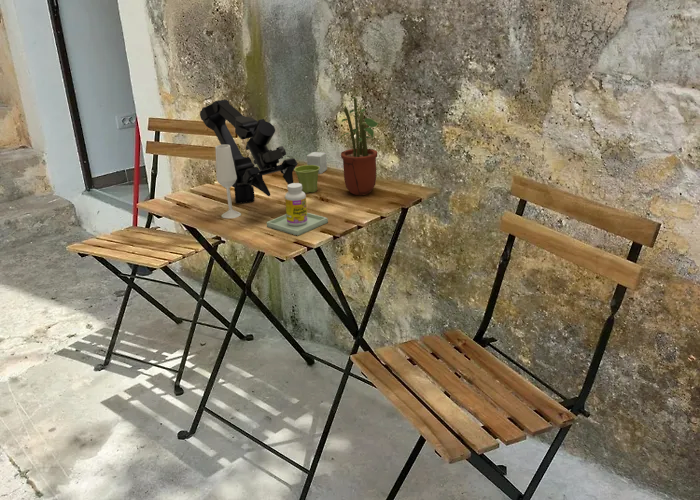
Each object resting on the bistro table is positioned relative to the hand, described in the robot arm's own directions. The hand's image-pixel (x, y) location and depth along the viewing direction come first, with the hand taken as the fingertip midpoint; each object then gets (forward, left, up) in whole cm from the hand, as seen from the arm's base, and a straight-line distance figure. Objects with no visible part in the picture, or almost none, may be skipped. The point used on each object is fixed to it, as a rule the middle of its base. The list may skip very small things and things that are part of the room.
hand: (281, 192), depth 215 cm
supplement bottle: (+4, -7, -9) cm, 12 cm away
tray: (+4, -7, -9) cm, 12 cm away
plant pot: (+12, +27, -9) cm, 31 cm away
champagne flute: (-17, +9, -9) cm, 22 cm away
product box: (+18, +51, -9) cm, 55 cm away
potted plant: (+30, +21, -9) cm, 38 cm away
